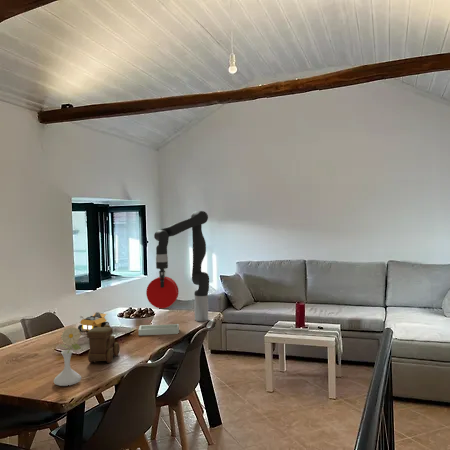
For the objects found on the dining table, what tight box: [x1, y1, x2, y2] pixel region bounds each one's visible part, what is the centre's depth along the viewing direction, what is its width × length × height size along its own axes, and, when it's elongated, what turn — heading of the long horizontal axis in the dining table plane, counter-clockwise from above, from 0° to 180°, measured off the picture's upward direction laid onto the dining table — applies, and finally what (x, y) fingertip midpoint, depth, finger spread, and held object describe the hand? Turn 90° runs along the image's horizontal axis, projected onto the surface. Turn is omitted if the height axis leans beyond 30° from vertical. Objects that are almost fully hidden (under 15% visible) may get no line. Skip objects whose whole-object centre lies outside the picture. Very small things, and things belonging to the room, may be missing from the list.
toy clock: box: [146, 276, 179, 309], centre depth 287 cm, size 20×6×20 cm, turn 84°
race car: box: [77, 311, 110, 332], centre depth 282 cm, size 15×15×11 cm
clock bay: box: [138, 323, 180, 336], centre depth 273 cm, size 10×24×4 cm, turn 96°
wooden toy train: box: [86, 324, 121, 364], centre depth 223 cm, size 20×11×17 cm, turn 176°
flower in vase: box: [53, 326, 82, 387], centre depth 191 cm, size 13×11×25 cm
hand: (162, 286), depth 287 cm, fingers closed on toy clock, 6 cm apart
